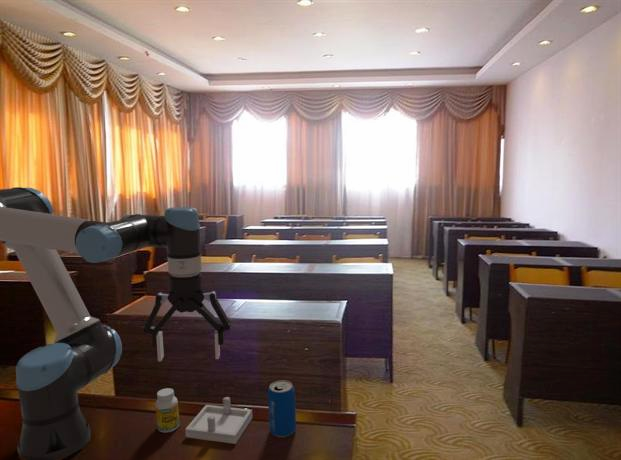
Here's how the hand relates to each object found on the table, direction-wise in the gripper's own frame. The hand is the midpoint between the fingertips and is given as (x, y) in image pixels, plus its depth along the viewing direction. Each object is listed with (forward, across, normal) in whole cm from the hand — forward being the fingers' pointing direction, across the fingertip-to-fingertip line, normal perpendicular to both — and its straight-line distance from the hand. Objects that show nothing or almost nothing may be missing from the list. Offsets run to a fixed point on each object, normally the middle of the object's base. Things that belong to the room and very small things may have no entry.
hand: (189, 357), depth 110 cm
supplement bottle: (+19, -6, +2) cm, 20 cm away
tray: (+19, +7, 0) cm, 20 cm away
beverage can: (+19, +22, -4) cm, 29 cm away
